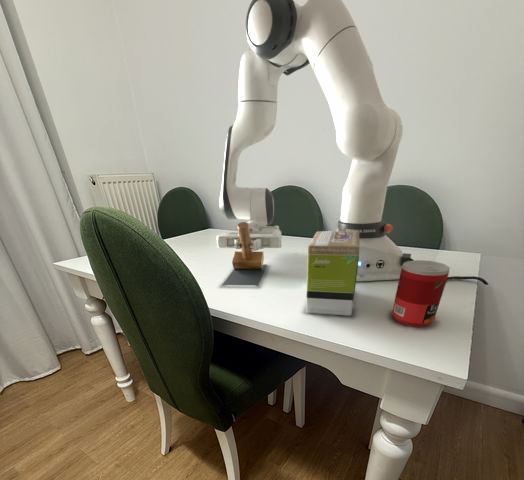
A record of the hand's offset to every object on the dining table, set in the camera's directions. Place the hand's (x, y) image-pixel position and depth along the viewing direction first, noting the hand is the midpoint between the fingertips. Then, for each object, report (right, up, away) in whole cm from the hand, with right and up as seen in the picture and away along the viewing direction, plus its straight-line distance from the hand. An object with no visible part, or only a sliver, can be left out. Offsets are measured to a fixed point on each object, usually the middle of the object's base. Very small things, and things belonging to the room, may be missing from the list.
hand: (245, 246), depth 84 cm
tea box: (+21, -19, -15) cm, 32 cm away
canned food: (+36, -24, -24) cm, 49 cm away
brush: (+1, -4, +7) cm, 8 cm away
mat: (0, -8, +4) cm, 9 cm away
